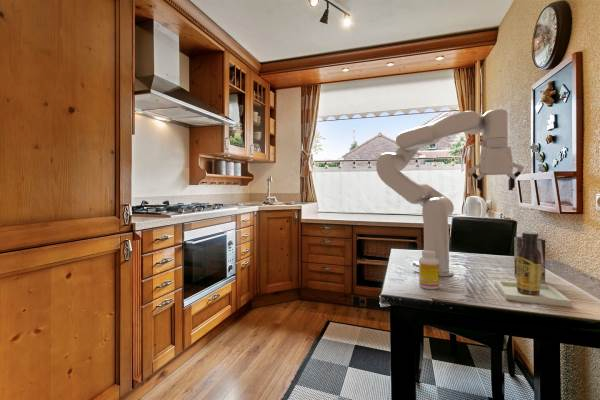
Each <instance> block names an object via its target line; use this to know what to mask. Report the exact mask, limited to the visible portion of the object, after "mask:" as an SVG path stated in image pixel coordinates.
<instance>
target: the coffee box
mask: <svg viewBox="0 0 600 400" xmlns="http://www.w3.org/2000/svg"><path fill="white" fill-rule="evenodd" d="M513 239H514V241H513V242H514V243H513V245H514V246H513V247H514V248H513V249H514V250H513V251H514V254H513V255H514V257H513V259H514V260H513V261H514V277H515V278H516V279H517V256H518V254H519V252H520V249H521V247H522V244H523V237H522V236H514V238H513ZM537 248H538V250H539V252H540V253H541V281H540V284H546V239H542V238H539V237H538V238H537Z"/></svg>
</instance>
